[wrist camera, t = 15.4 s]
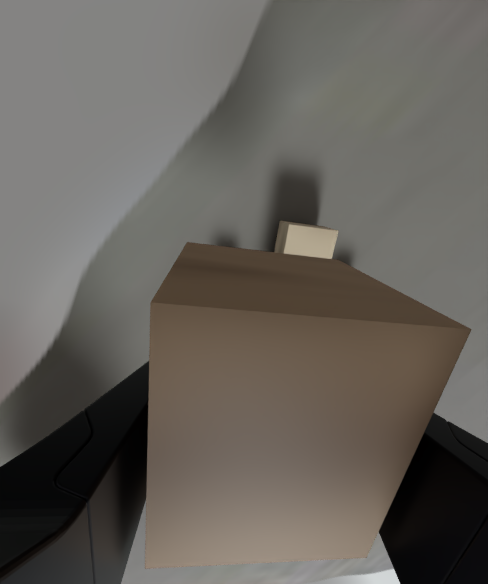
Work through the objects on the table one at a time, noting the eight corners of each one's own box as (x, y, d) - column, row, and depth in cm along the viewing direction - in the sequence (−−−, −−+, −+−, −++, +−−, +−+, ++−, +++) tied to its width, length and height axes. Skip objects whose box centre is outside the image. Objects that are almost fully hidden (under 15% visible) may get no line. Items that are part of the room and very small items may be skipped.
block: (301, 402, 11) (366, 558, 6) (177, 398, 10) (144, 568, 6) (338, 259, 9) (471, 329, 4) (187, 242, 8) (150, 302, 4)
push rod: (299, 381, 22) (319, 425, 18) (240, 378, 21) (245, 423, 17) (337, 228, 18) (374, 238, 14) (264, 218, 17) (280, 226, 13)
